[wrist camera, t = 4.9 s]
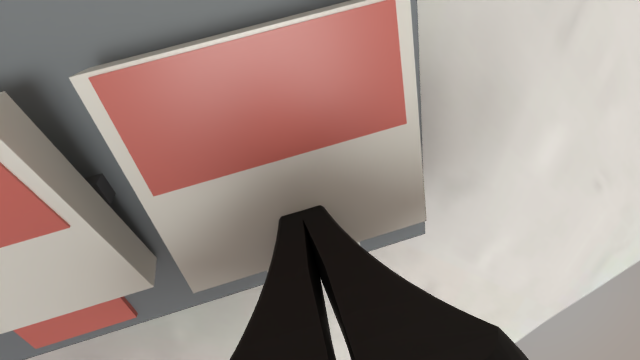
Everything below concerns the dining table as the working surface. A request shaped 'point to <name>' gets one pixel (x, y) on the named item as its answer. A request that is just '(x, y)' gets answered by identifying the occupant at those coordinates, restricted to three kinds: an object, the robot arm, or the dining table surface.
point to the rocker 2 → (267, 133)
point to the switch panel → (92, 150)
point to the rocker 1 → (57, 232)
